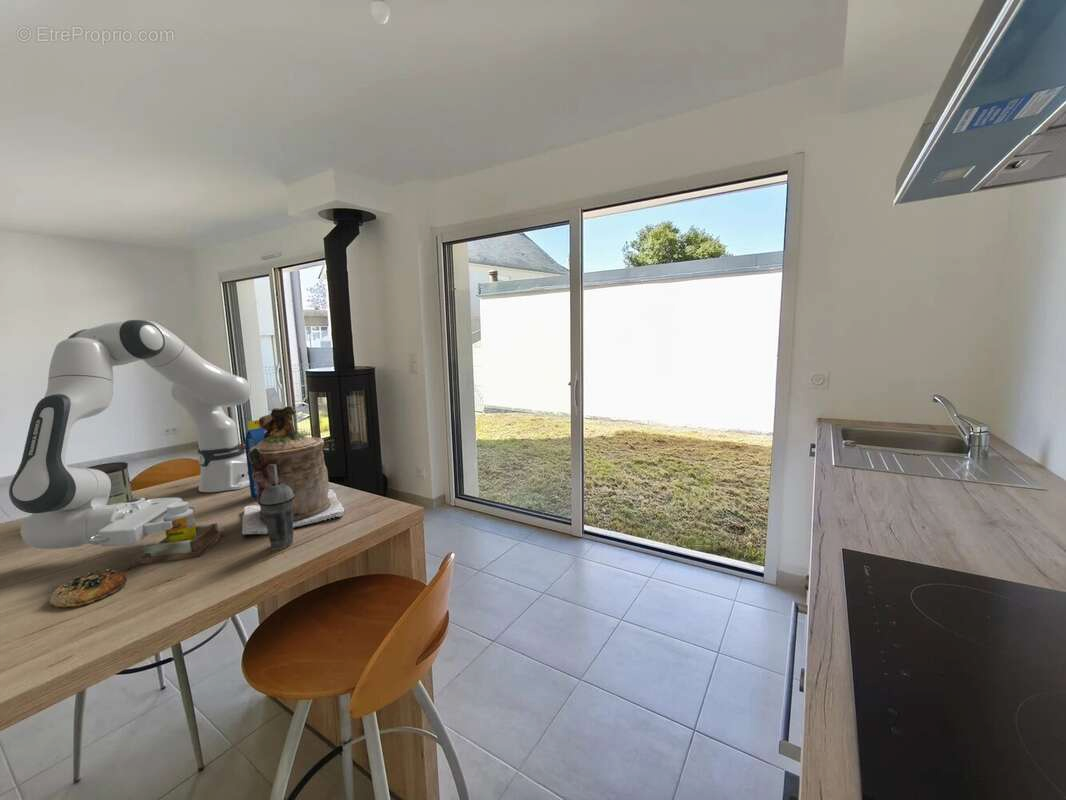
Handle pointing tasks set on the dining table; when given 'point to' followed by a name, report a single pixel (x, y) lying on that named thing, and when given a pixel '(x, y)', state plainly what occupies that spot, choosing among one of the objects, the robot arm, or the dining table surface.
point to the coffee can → (117, 481)
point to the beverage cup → (278, 513)
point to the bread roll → (88, 588)
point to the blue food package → (251, 440)
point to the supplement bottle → (180, 522)
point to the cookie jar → (290, 473)
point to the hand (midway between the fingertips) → (184, 516)
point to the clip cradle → (182, 545)
